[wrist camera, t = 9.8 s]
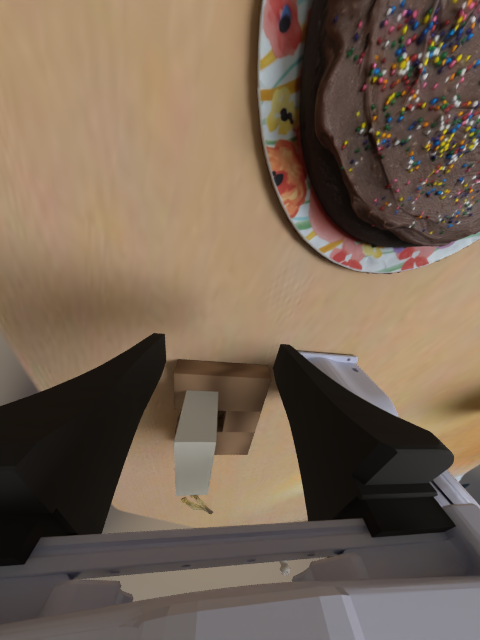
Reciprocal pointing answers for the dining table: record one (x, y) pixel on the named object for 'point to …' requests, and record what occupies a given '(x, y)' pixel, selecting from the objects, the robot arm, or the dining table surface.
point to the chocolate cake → (373, 126)
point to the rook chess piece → (285, 567)
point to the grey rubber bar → (195, 443)
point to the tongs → (197, 507)
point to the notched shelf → (227, 398)
